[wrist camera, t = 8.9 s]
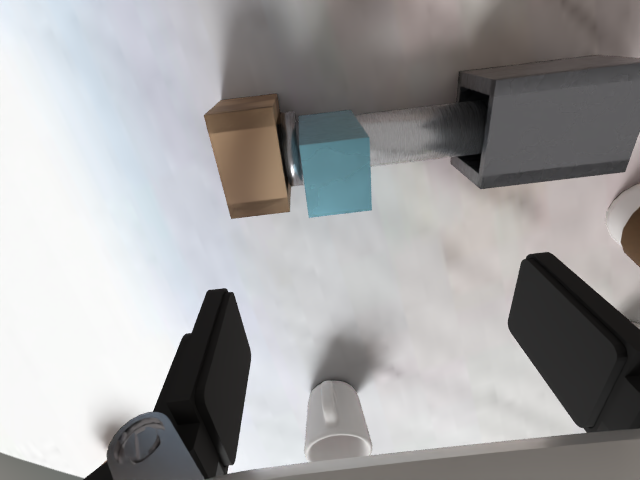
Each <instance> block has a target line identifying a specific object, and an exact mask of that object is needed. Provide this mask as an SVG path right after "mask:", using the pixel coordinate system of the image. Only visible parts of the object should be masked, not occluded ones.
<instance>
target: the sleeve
mask: <svg viewBox="0 0 640 480" xmlns="http://www.w3.org/2000/svg"><path fill="white" fill-rule="evenodd" d="M485 99H488V100H489V103H488V111H487V118H486V125H485V132H484V140H483V147H482V153H481V154H473V155H464V156H456V157H451V164H452V165H453V166H454V167H455V168H456V169H458V170H459V171H460V172H461V173H462V174H463V175H465V176H466V177H467V178H468V179H469V180H470V181H472V182H473V183H474V184H475V185H476V186H478V187H479V188H480V189H486V188H494V187H502V186H511V185H519V184H528V183H536V182H545V181H553V180H561V179H570V178H578V177H587V176H595V175H603V174H612V173H620V172H625V170H626V168H627V165H628V162H629V159H630V157H631V154H632V151H633V148H634V146H635V143H636V140H637V137H638V135H639V132H640V58H632V57H618V56H604V55H593V56H584V57H576V58H568V59H559V60H551V61H543V62H535V63H526V64H518V65H510V66H501V67H493V68H485V69H476V70H468V71H460V72H459V79H458V90H457V101H456V103H460V102H468V101H477V100H485Z"/></svg>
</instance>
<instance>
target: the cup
mask: <svg viewBox="0 0 640 480" xmlns="http://www.w3.org/2000/svg"><path fill="white" fill-rule="evenodd" d="M371 452H372V442H371V439H370V435H369V432H368V428H367V425H366V421H365V418H364V414H363V411H362V407H361V404H360V400H359V397H358V395H357V392H356V391H355V389H354V388H353V387H352V386H351V385H349V384H348V383H346V382H343V381H329V380H328V381H324V382H322V383H321V384H319V385H318V386H316V387H315V388H314V389H313V391H312V392H311V394H310V397H309V401H308V410H307V423H306V436H305V448H304V453H305V457H306V459H307V460H308V462H316V461H325V460H334V459H343V458H352V457H361V456H370V454H371Z"/></svg>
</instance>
